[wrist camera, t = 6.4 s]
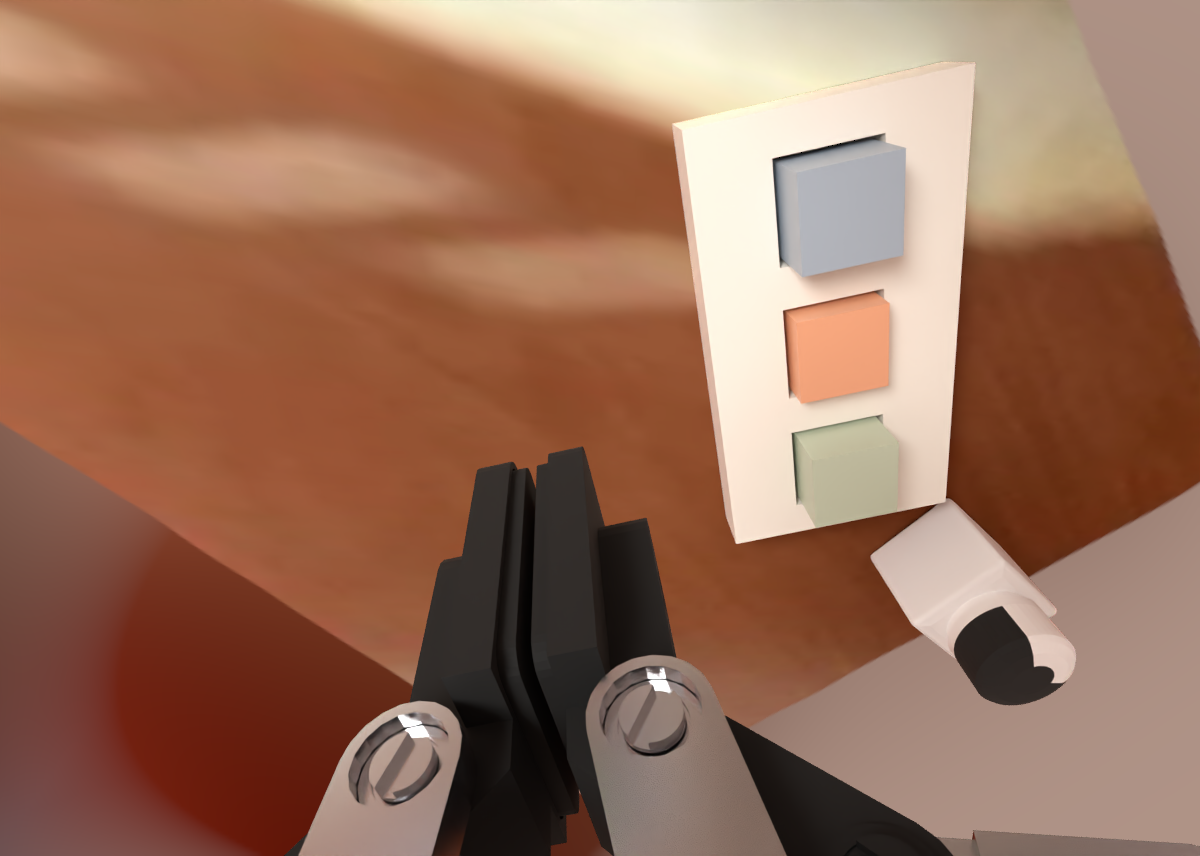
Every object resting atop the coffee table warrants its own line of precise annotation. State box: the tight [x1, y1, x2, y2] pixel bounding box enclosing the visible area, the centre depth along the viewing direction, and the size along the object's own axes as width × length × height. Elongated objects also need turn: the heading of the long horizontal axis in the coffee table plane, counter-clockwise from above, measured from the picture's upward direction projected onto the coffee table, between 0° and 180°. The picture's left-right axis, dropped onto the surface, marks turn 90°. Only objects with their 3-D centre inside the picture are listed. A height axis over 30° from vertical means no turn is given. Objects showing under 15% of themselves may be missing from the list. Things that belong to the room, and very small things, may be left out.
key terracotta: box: [783, 291, 890, 404], centre depth 39 cm, size 5×5×4 cm
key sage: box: [791, 416, 899, 528], centre depth 41 cm, size 5×5×4 cm
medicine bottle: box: [871, 498, 1076, 705], centre depth 45 cm, size 7×7×12 cm
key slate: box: [772, 138, 906, 277], centre depth 33 cm, size 5×5×4 cm
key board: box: [672, 62, 976, 544], centre depth 39 cm, size 26×14×3 cm, turn 12°
